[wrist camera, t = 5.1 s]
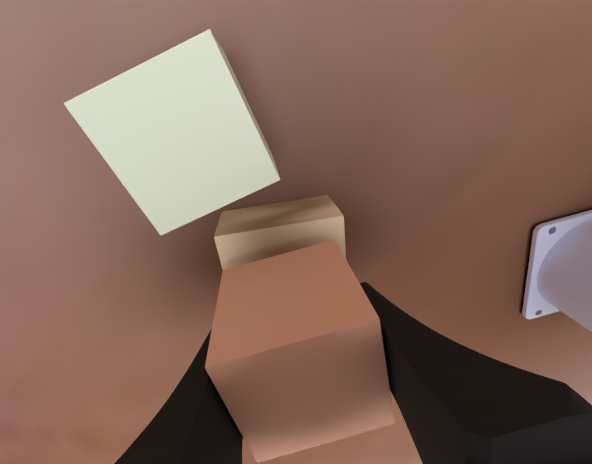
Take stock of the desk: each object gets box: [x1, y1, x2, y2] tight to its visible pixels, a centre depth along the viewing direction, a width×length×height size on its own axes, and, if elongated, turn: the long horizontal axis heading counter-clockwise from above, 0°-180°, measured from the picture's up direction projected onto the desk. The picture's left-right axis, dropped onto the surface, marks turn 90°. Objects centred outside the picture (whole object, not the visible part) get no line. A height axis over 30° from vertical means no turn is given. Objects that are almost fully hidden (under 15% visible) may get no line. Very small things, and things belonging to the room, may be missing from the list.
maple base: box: [214, 195, 346, 270], centre depth 16 cm, size 6×6×4 cm
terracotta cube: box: [205, 240, 395, 463], centre depth 11 cm, size 5×5×5 cm
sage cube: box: [64, 29, 280, 235], centre depth 12 cm, size 5×5×5 cm
